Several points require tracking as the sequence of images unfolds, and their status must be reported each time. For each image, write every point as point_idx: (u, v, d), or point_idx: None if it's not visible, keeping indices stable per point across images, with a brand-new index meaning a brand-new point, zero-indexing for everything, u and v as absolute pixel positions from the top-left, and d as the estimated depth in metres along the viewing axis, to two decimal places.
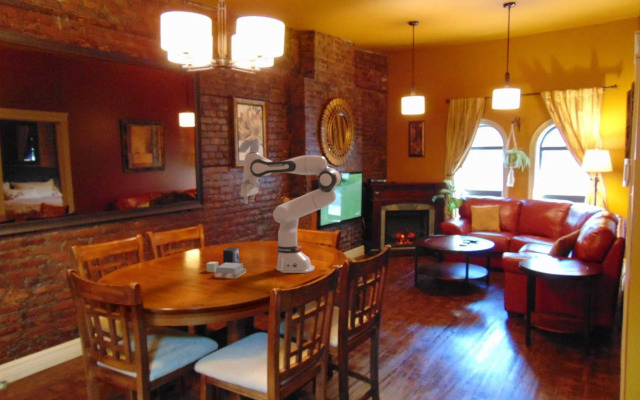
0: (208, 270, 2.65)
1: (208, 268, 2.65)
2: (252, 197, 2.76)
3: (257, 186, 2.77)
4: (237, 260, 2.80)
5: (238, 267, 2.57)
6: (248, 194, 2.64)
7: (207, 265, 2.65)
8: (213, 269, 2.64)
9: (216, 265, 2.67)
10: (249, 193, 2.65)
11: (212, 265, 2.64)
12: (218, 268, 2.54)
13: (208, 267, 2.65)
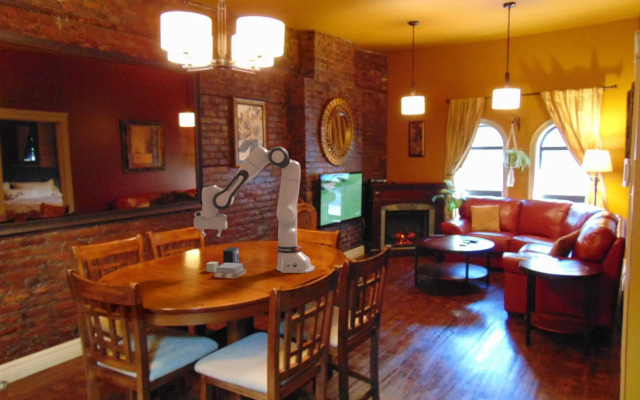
0: (208, 270, 2.65)
1: (208, 268, 2.65)
2: (202, 231, 2.66)
3: None
4: (237, 260, 2.80)
5: (238, 267, 2.57)
6: None
7: (207, 265, 2.65)
8: (213, 269, 2.64)
9: (216, 265, 2.67)
10: None
11: (212, 265, 2.64)
12: (218, 268, 2.54)
13: (208, 267, 2.65)
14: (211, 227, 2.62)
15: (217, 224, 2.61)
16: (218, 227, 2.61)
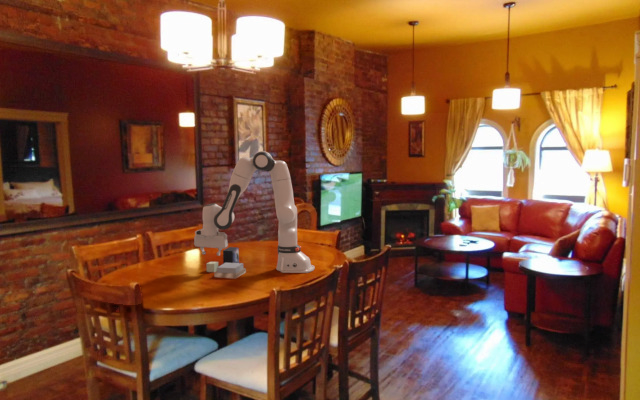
0: (208, 270, 2.65)
1: (208, 268, 2.65)
2: (203, 250, 2.68)
3: None
4: (237, 260, 2.80)
5: (239, 267, 2.57)
6: None
7: (207, 265, 2.65)
8: (213, 269, 2.64)
9: (216, 265, 2.67)
10: None
11: (212, 265, 2.64)
12: (219, 268, 2.54)
13: (208, 267, 2.65)
14: (212, 245, 2.64)
15: (217, 243, 2.62)
16: (218, 246, 2.62)
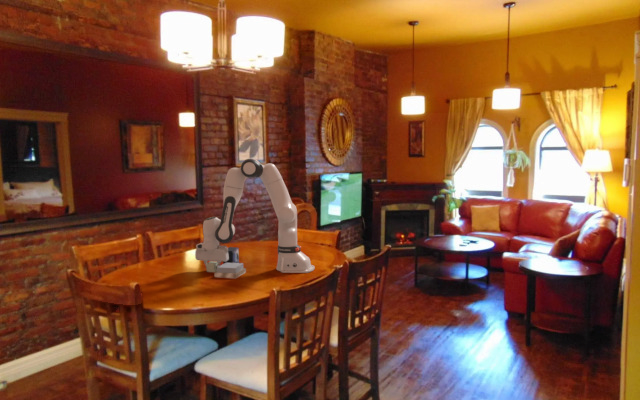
0: (208, 270, 2.65)
1: (208, 268, 2.65)
2: None
3: None
4: (237, 260, 2.80)
5: (239, 267, 2.57)
6: None
7: (207, 265, 2.65)
8: (213, 269, 2.64)
9: None
10: None
11: (212, 265, 2.64)
12: (219, 268, 2.54)
13: (208, 267, 2.65)
14: (213, 259, 2.64)
15: (218, 256, 2.63)
16: (219, 259, 2.63)
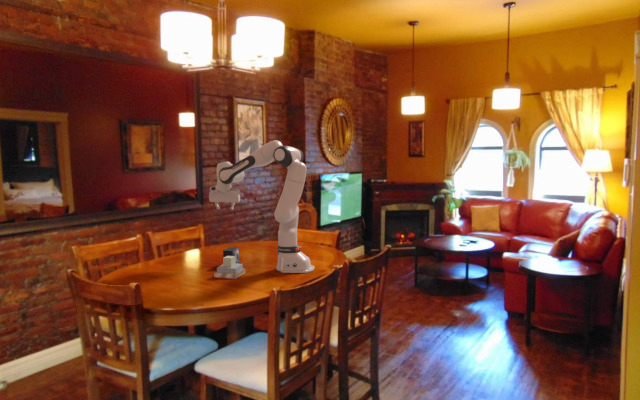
0: (225, 264, 2.56)
1: (225, 262, 2.56)
2: (217, 205, 2.89)
3: None
4: (237, 260, 2.80)
5: (239, 267, 2.57)
6: None
7: (224, 259, 2.56)
8: (230, 263, 2.55)
9: (233, 259, 2.57)
10: None
11: (229, 259, 2.55)
12: (219, 268, 2.54)
13: (225, 261, 2.56)
14: (226, 200, 2.85)
15: (231, 197, 2.84)
16: (232, 200, 2.84)
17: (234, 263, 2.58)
